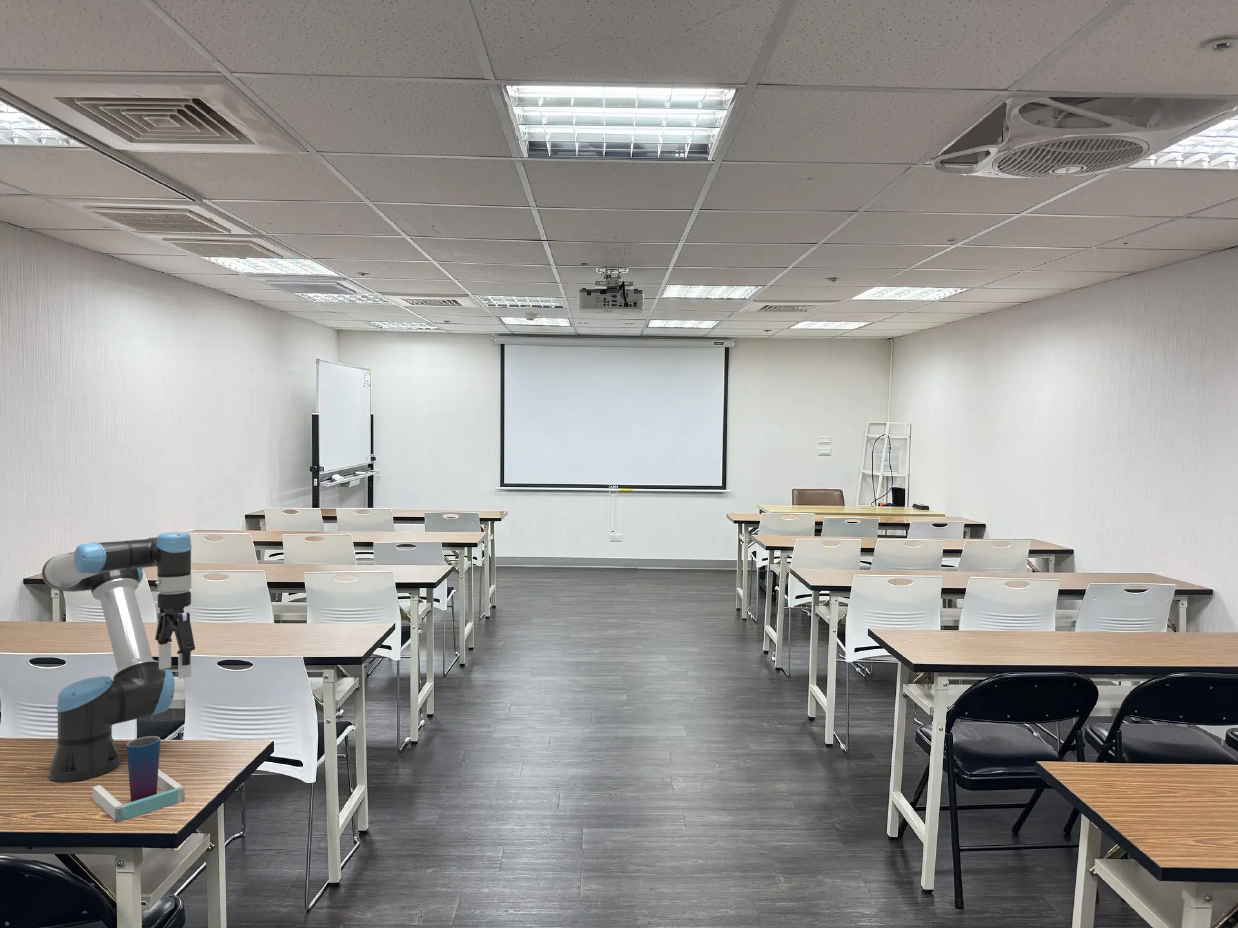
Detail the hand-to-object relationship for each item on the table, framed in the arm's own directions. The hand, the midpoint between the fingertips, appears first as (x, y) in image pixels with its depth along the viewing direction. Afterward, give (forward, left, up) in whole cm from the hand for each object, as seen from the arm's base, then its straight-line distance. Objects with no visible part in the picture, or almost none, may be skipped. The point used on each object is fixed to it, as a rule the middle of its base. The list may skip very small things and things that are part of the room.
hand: (174, 672), depth 190 cm
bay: (+9, -11, -27) cm, 30 cm away
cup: (+12, -11, -27) cm, 32 cm away
